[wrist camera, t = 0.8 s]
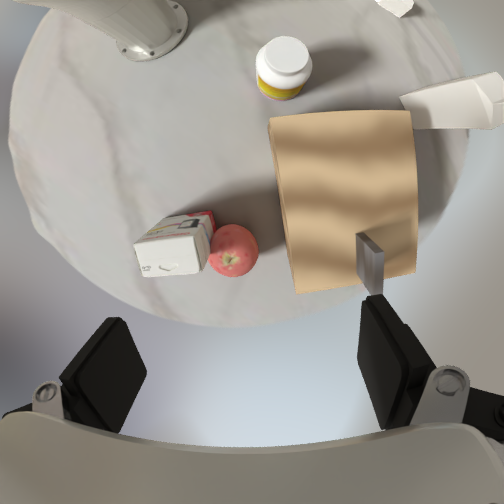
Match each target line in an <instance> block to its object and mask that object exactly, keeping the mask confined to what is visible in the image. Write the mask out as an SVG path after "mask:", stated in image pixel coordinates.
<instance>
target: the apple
mask: <svg viewBox="0 0 504 504" xmlns="http://www.w3.org/2000/svg"><path fill="white" fill-rule="evenodd" d="M258 254H259V249H258V244H257V242H256V239H255V237H254V236H253V235H252V233H251V232H250V231H248V230H247V229H246V228H244V227H242V226H239V225H236V224H229V225H225V226H222V227H221V228H219V229H218V230H217V231H216V232H215V233H214V235H213V236H212V238H211V241H210V255H209V258H208V261H209V263H210V265H211V266H212V267H213V268H214V270H216V271H217V272H218V273H220V274H222V275H224V276H228V277H238V276H242V275H244V274H246V273H248V272H249V271H250V270H251V269H252V268H253V266H254V265H255V263H256V261H257V259H258Z"/></svg>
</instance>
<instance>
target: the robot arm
mask: <svg viewBox="0 0 504 504" xmlns="http://www.w3.org/2000/svg"><path fill="white" fill-rule="evenodd" d="M13 1H15V2H19V3H22V4H28V5H37V6H44V7H49V8H53V9H57V10H60V11H62V12H65V13H67V14H69V15H72V16H74V17H76V18H78V19H80V20H81V21H83V22H85V23H87V24H89V25H90V26H92V27H94V28H96V29H97V30H99V31H101V32H103V33H104V34H106V35H108V36H109V37H111V38H113V39H114V40H116V45H117V48H118V50H119V52H120V53H121V54H122V55H123V56H124V57H126V58H128V59H130V60H133V61H142V62H143V61H150V60H153V59H156V58H158V57H161V56H163V55H164V54H166V53H168V52H169V51H171V50H172V49H173V48H174V47H175V46H176V45H177V44H178V43H179V42H180V41H181V39H182V38H183V36H184V35H185V32H186V30H187V27H188V16H187V13H186V11H185V9H184V8H183V7H182V6H181V5H180V4H178V3H177V2H174V1H172V0H13ZM153 54H154V55H153ZM357 360H358V365H359V367H360V370H361V373H362V376H363V378H364V381H365V384H366V387H367V390H368V393H369V395H370V398H371V401H372V404H373V407H374V410H375V413H376V416H377V419H378V423H379V426H380V428H381V430H383V429H386V430H385V431H381V432H376V433H371V434H366V435H361V436H356V437H351V438H345V439H339V440H332V441H325V442H318V443H309V444H300V445H291V446H275V447H210V446H209V447H208V446H196V445H185V444H175V443H167V442H159V441H154V440H147V439H141V438H136V437H131V436H126V435H121V434H118V433H119V432H120V430H121V428H122V426H123V424H124V422H125V419H126V417H127V415H128V413H129V411H130V409H131V407H132V405H133V402H134V400H135V398H136V396H137V394H138V392H139V390H140V388H141V386H142V384H143V382H144V380H145V377H146V375H147V370H146V367H145V365H144V363H143V361H142V359H141V356H140V354H139V352H138V350H137V348H136V345H135V343H134V341H133V338H132V336H131V334H130V331H129V329H128V326H127V324H126V322H125V321H123V320H122V318H120V317H108V318H107V319H106V320H105V321H104V322H103V323H102V325H101V326H100V327H99V328H98V329H97V330H96V331H95V333H94V334H93V335H92V336H91V337H90V339H89V340H88V341H87V342H86V344H85V345H84V346H83V347H82V348H81V350H80V351H79V352H78V353H77V355H76V356H75V357H74V358H73V360H72V361H71V362H70V363H69V365H68V366H67V367H66V369H65V370H64V371H63V372H62V374H61V375H60V376H59V379H60V380H61V382H62V383H63V385H62V386H60V385H59V384H58V383H57V382H55V381H48V382H45V383H43V384H41V385H40V386H38V387H37V389H36V390H35V391H34V393H33V400H32V403H30V404H28V405H25V406H23V407H20V408H18V409H15V410H13V411H10V412H7V413H6V414H4V415H3V417H2V420H1V421H0V504H504V396H501V395H497V394H494V393H489V392H486V391H482V390H478V389H475V388H472V387H470V380H469V377H468V375H467V374H466V373H465V372H464V371H463V370H461V369H460V368H458V367H455V366H448V365H446V366H441V367H438V368H437V367H436V366H435V364H434V363H433V361H432V360H431V358H430V357H429V355H428V354H427V352H426V351H425V349H424V347H423V346H422V345H421V343H420V342H419V340H418V339H417V337H416V336H415V334H414V333H413V331H412V330H411V329H410V327H409V326H408V325H407V324H403V322H402V321H401V319H400V318H399V317H398V315H397V314H396V312H395V311H394V309H393V308H392V307H391V305H390V304H389V302H388V301H387V300H386V298H385V297H384V296H383V295H382V294H377V295H371V296H367V298H366V300H364V301H362V307H361V321H360V333H359V345H358V353H357Z"/></svg>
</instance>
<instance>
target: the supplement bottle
mask: <svg viewBox="0 0 504 504" xmlns="http://www.w3.org/2000/svg"><path fill="white" fill-rule="evenodd" d="M311 72H312V60H311V57H310V55H309V52H308V49H307V47H306V46H305V45H304V43H303V42H301V41H300V40H298V39H296V38H294V37H290V36H280V37H276V38H274V39H272V40H271V41H270V42H269V43H268V44H266V45H265V46H263V47H262V48H261V49H260V51H259V52H258V54H257V57H256V77H257V85H258V88H259V90H260V91H261V93H262V94H263V95H264V96H266V97H267V98H269V99H271V100H275V101H286V100H290V99H292V98H294V97H295V96H296V95H297V94H298V93H299V92H300V90H301V89H302V87H303V86H304V84H305V83H306V81H307V80H308V78H309V77H310V75H311Z"/></svg>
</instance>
